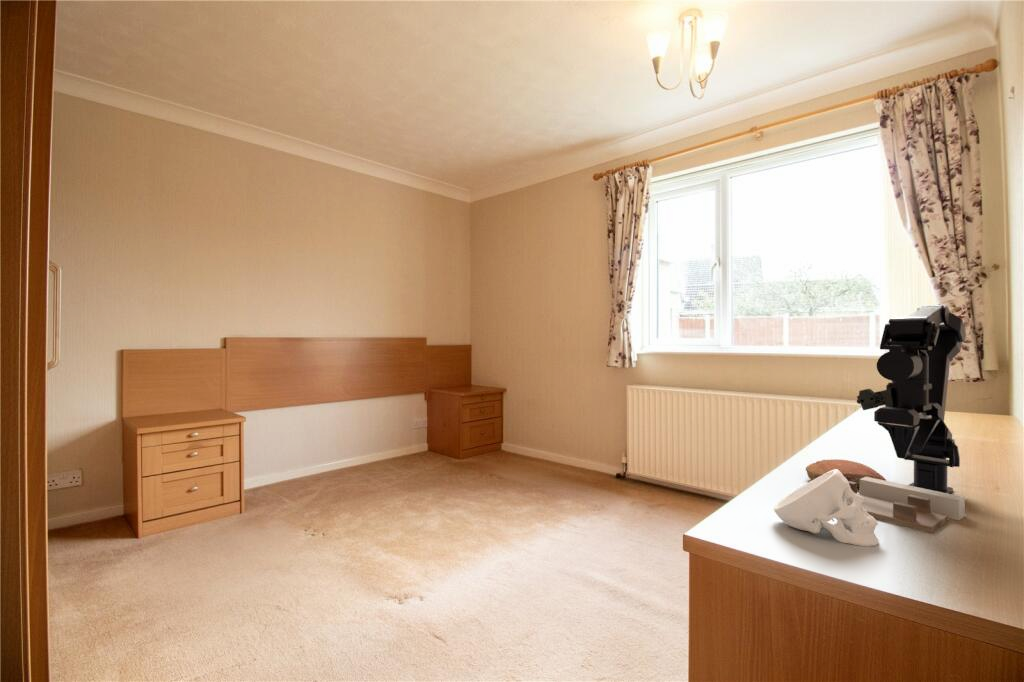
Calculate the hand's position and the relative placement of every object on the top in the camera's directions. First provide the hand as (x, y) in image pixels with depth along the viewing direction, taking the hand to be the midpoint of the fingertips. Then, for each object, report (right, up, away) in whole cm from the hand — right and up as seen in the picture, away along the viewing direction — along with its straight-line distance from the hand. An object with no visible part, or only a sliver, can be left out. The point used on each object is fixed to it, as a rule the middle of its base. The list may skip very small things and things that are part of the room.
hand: (909, 454), depth 96 cm
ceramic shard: (-2, -11, +17) cm, 21 cm away
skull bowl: (-26, -11, -13) cm, 31 cm away
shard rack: (-9, -10, -3) cm, 14 cm away
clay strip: (0, -11, 0) cm, 11 cm away
